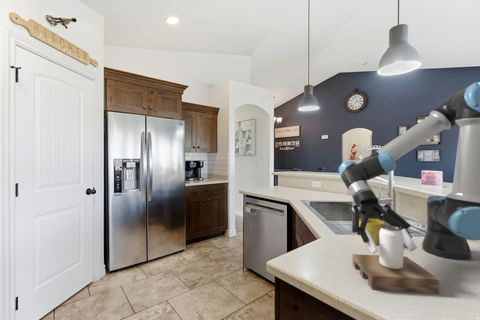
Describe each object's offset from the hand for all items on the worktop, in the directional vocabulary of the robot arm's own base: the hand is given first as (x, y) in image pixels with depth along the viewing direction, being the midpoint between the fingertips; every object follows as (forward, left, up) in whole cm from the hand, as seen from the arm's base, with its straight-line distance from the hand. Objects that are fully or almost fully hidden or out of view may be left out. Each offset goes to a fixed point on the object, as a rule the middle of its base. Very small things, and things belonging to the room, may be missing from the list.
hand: (394, 250), depth 74 cm
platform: (0, -1, -9) cm, 9 cm away
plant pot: (-8, -35, -9) cm, 37 cm away
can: (0, -2, -5) cm, 6 cm away
